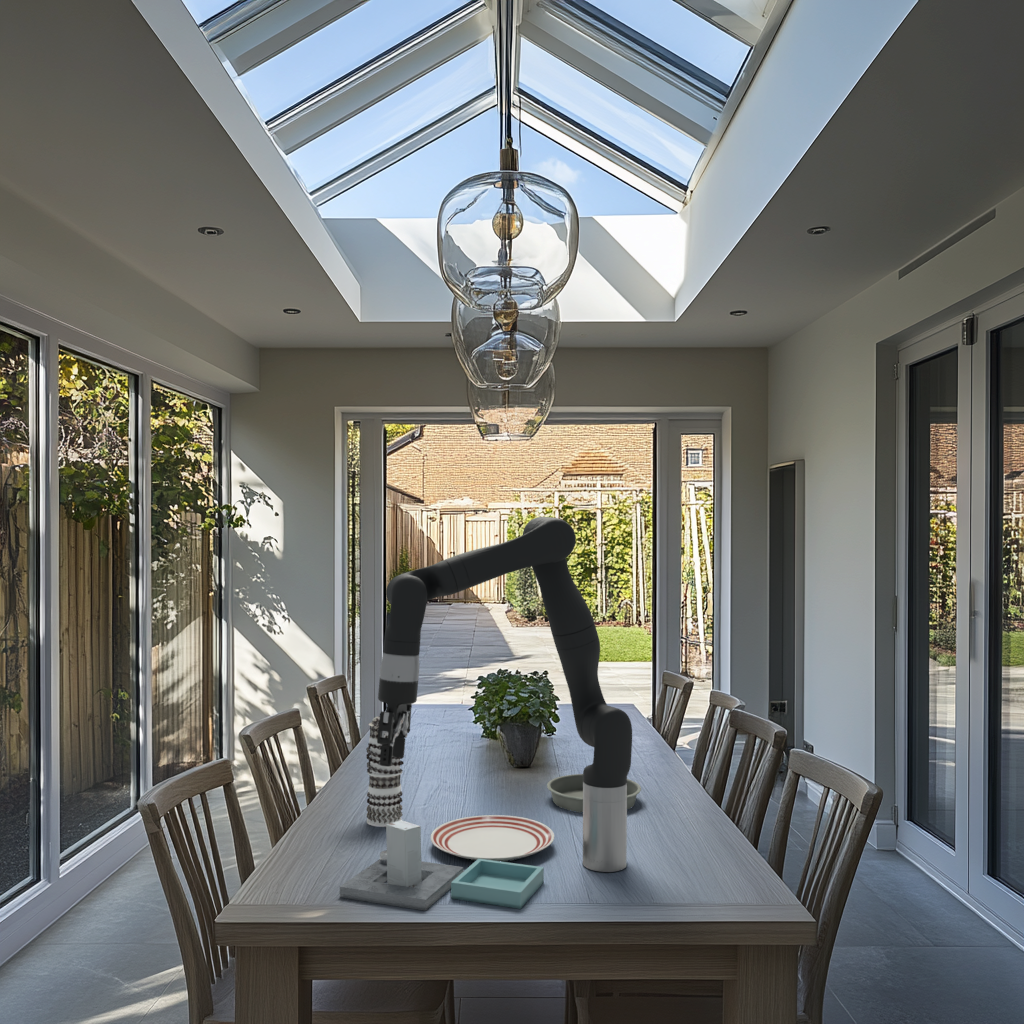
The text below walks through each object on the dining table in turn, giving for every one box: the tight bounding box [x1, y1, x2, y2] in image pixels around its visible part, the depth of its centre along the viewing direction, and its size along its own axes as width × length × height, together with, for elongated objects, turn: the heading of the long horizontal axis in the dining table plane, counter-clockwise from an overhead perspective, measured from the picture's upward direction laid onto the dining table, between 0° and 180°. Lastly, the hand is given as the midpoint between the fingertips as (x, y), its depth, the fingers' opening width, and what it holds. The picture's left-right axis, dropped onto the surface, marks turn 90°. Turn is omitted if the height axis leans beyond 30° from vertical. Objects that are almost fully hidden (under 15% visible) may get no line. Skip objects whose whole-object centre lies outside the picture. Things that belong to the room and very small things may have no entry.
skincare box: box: [385, 819, 423, 888], centre depth 179 cm, size 6×4×12 cm
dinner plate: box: [430, 814, 555, 862], centre depth 202 cm, size 27×27×3 cm
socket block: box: [339, 849, 465, 911], centre depth 179 cm, size 18×18×4 cm
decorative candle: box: [366, 715, 405, 828], centre depth 221 cm, size 9×9×25 cm
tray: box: [450, 859, 545, 910], centre depth 177 cm, size 14×14×3 cm
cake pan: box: [546, 773, 642, 813], centre depth 239 cm, size 25×25×4 cm
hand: (391, 761), depth 176 cm, fingers open, 8 cm apart
